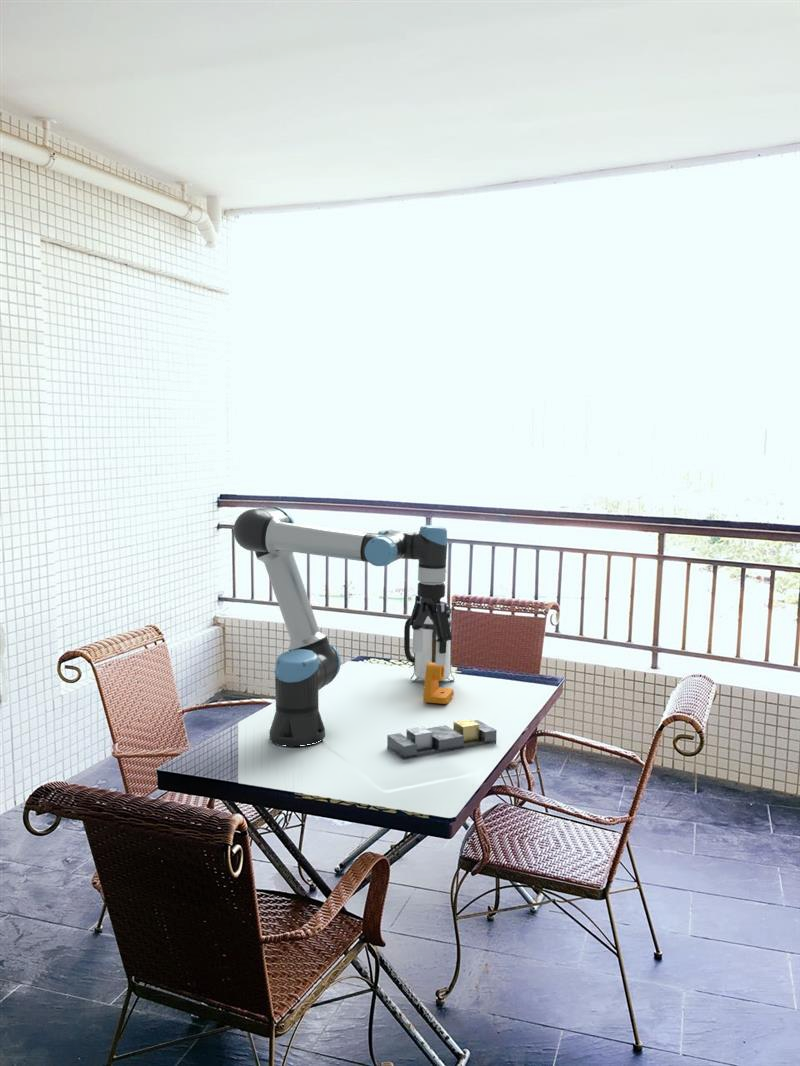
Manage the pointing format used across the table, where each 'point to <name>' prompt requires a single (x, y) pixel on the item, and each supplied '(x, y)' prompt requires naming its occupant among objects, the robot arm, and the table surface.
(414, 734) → the brushed aluminum cube
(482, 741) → the grey stepped block holder
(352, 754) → the table surface
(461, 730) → the sand colored cube
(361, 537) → the robot arm
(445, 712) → the table surface
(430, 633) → the coffee press
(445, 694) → the bracket
